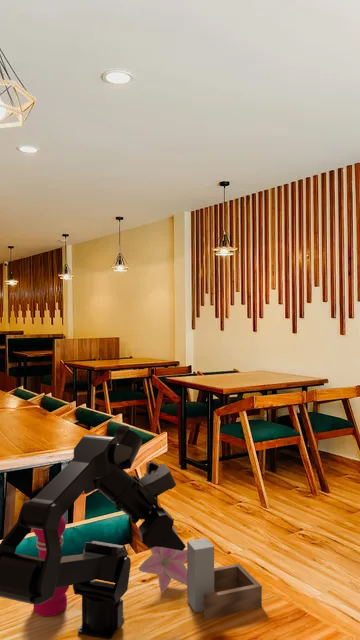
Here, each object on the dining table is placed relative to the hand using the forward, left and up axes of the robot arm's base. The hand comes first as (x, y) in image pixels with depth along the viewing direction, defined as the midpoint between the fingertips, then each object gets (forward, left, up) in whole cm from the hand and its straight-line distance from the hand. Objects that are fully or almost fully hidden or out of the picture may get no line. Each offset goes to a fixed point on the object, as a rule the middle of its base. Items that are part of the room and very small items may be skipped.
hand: (177, 537), depth 102 cm
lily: (-5, +7, -14) cm, 16 cm away
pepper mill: (-23, -7, -13) cm, 28 cm away
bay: (+8, +4, -13) cm, 16 cm away
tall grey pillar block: (+4, +1, -13) cm, 14 cm away
